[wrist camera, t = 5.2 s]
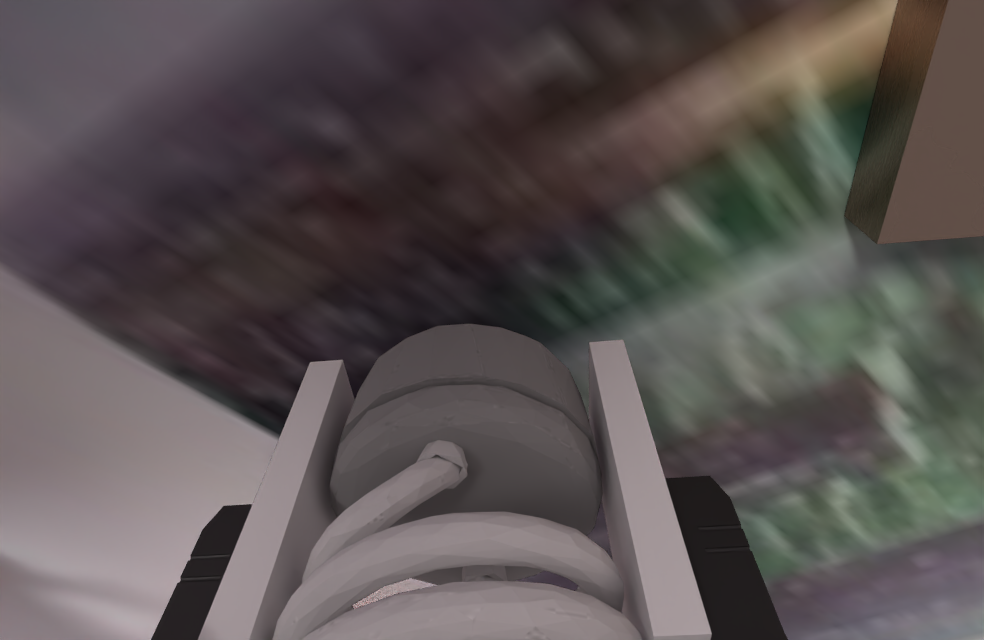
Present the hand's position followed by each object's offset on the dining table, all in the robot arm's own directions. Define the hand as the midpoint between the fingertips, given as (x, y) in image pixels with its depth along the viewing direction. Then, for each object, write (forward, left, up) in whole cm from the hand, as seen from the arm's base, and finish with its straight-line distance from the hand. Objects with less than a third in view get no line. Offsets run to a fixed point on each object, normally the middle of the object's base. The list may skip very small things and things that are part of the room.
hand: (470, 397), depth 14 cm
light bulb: (0, 0, -2) cm, 2 cm away
